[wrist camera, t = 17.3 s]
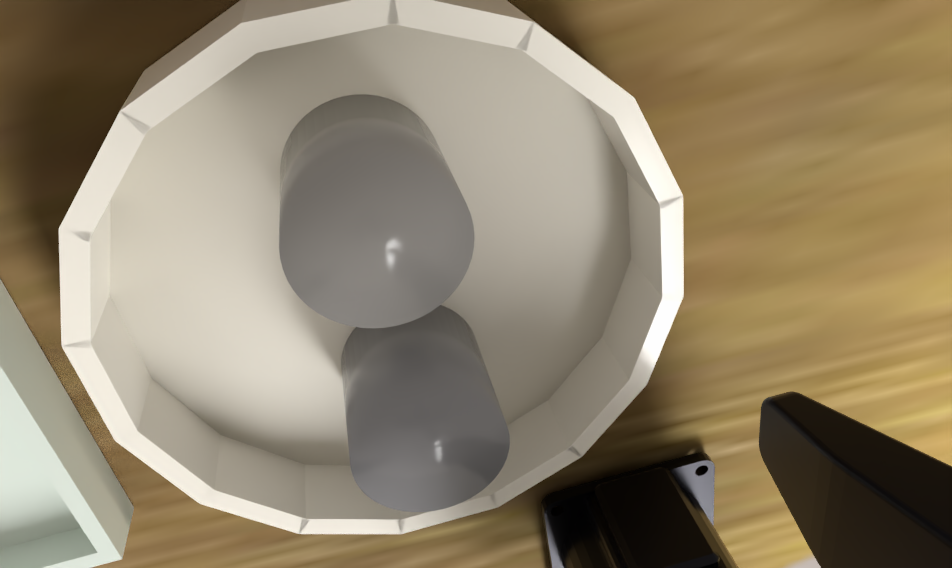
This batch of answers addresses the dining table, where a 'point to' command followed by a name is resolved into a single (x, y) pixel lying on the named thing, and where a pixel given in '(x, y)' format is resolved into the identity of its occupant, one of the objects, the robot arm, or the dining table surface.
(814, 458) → the robot arm
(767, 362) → the dining table surface
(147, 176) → the bowl
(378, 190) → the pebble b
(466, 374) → the grey rounded cylinder
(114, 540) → the tray
